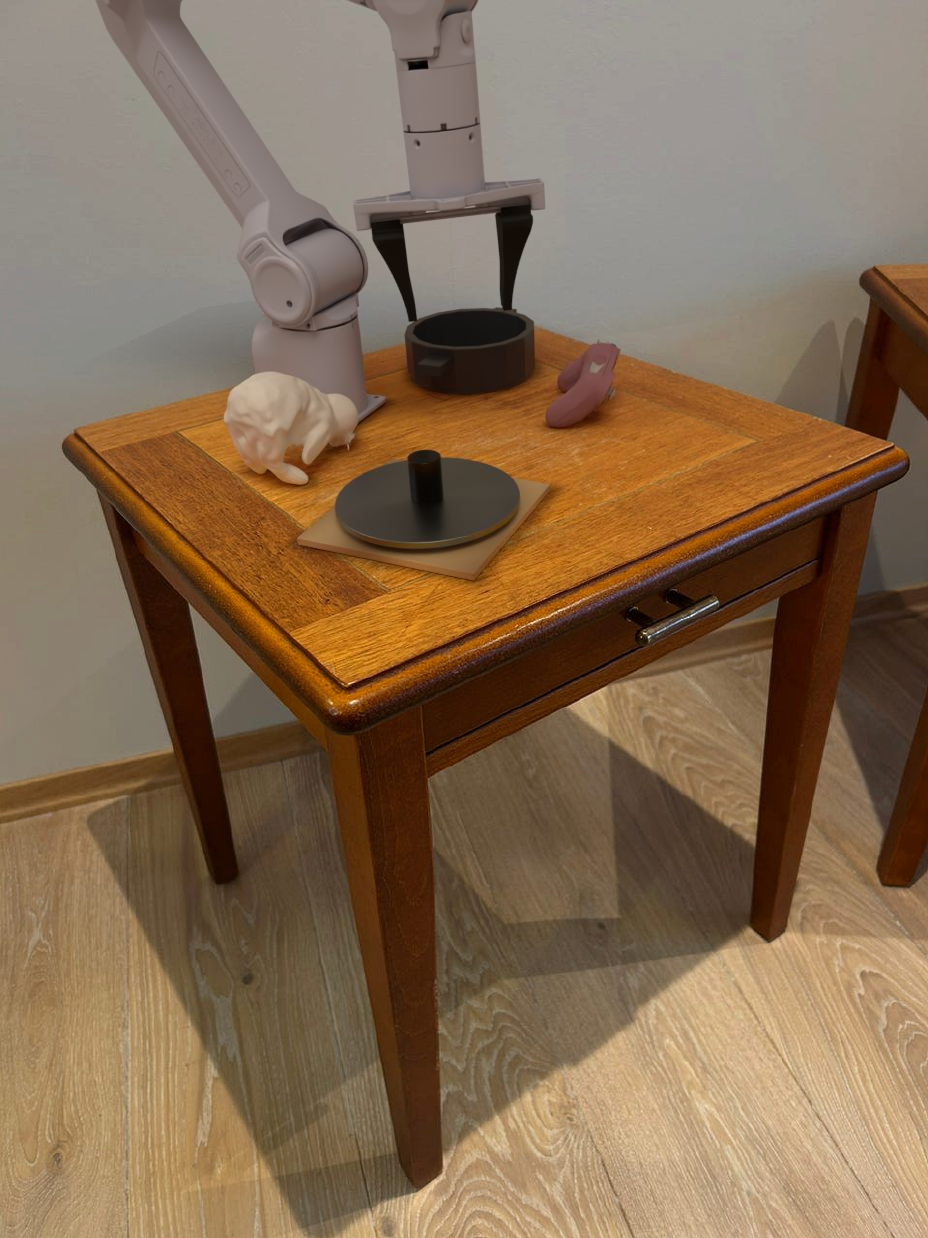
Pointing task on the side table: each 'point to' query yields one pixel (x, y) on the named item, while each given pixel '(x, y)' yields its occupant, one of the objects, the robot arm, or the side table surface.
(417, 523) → the lid
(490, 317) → the pan
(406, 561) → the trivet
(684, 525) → the side table surface
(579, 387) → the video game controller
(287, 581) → the side table surface
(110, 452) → the side table surface
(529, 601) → the side table surface
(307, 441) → the crouching animal figurine
